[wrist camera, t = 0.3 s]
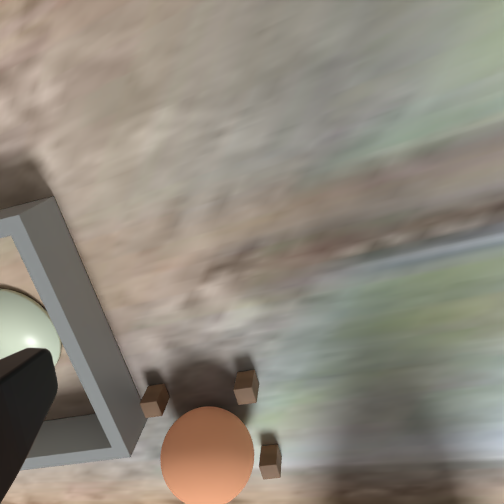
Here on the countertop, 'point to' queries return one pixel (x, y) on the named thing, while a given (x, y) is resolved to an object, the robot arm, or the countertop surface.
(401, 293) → the countertop surface
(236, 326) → the countertop surface
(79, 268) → the grey shallow tray
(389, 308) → the countertop surface
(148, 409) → the cradle
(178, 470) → the ball
